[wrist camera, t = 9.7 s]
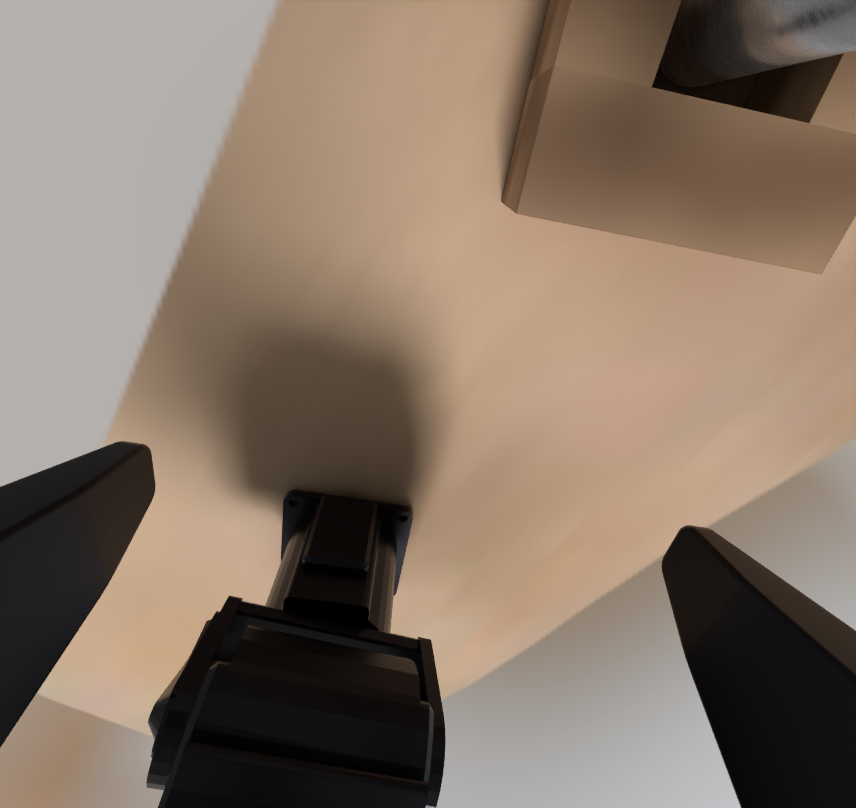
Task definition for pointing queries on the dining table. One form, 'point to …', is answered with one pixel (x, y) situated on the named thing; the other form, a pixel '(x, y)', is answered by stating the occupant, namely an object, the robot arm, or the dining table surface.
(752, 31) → the peg
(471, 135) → the dining table surface
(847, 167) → the hole block
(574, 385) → the dining table surface
